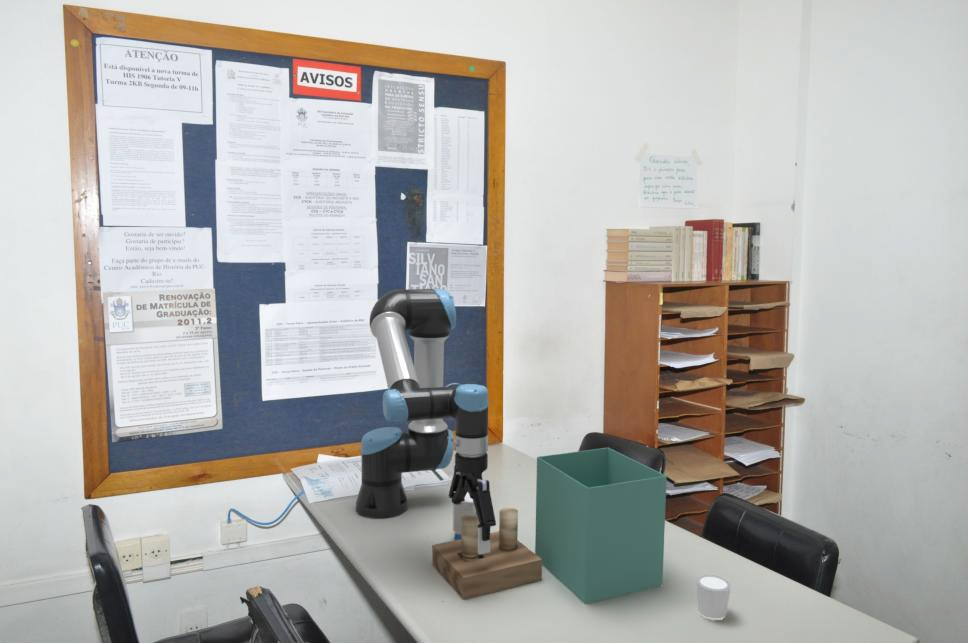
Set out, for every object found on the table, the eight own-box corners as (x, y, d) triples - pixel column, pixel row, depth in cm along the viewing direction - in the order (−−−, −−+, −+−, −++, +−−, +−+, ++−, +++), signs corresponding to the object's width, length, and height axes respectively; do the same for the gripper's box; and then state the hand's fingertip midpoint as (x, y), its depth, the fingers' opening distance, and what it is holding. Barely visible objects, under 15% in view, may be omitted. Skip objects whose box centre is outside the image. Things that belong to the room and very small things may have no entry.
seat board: (432, 564, 162) (432, 509, 161) (504, 548, 171) (505, 496, 170) (463, 599, 146) (463, 538, 145) (541, 580, 155) (542, 522, 154)
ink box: (472, 546, 173) (472, 501, 172) (453, 544, 174) (454, 500, 173) (479, 532, 181) (479, 490, 180) (461, 530, 182) (461, 488, 181)
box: (535, 558, 166) (536, 456, 164) (605, 544, 175) (608, 447, 172) (584, 604, 145) (587, 488, 142) (662, 585, 153) (666, 476, 151)
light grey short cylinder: (689, 605, 145) (691, 575, 144) (720, 604, 145) (722, 573, 145) (702, 623, 138) (704, 591, 137) (734, 622, 139) (736, 590, 138)
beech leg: (457, 572, 158) (458, 515, 156) (474, 568, 160) (475, 512, 158) (465, 581, 154) (466, 523, 152) (482, 577, 156) (483, 519, 154)
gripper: (435, 440, 163) (435, 523, 166) (480, 471, 141) (480, 567, 143) (463, 436, 167) (462, 518, 169) (512, 466, 144) (510, 560, 147)
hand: (470, 541), depth 156 cm, fingers open, 13 cm apart
